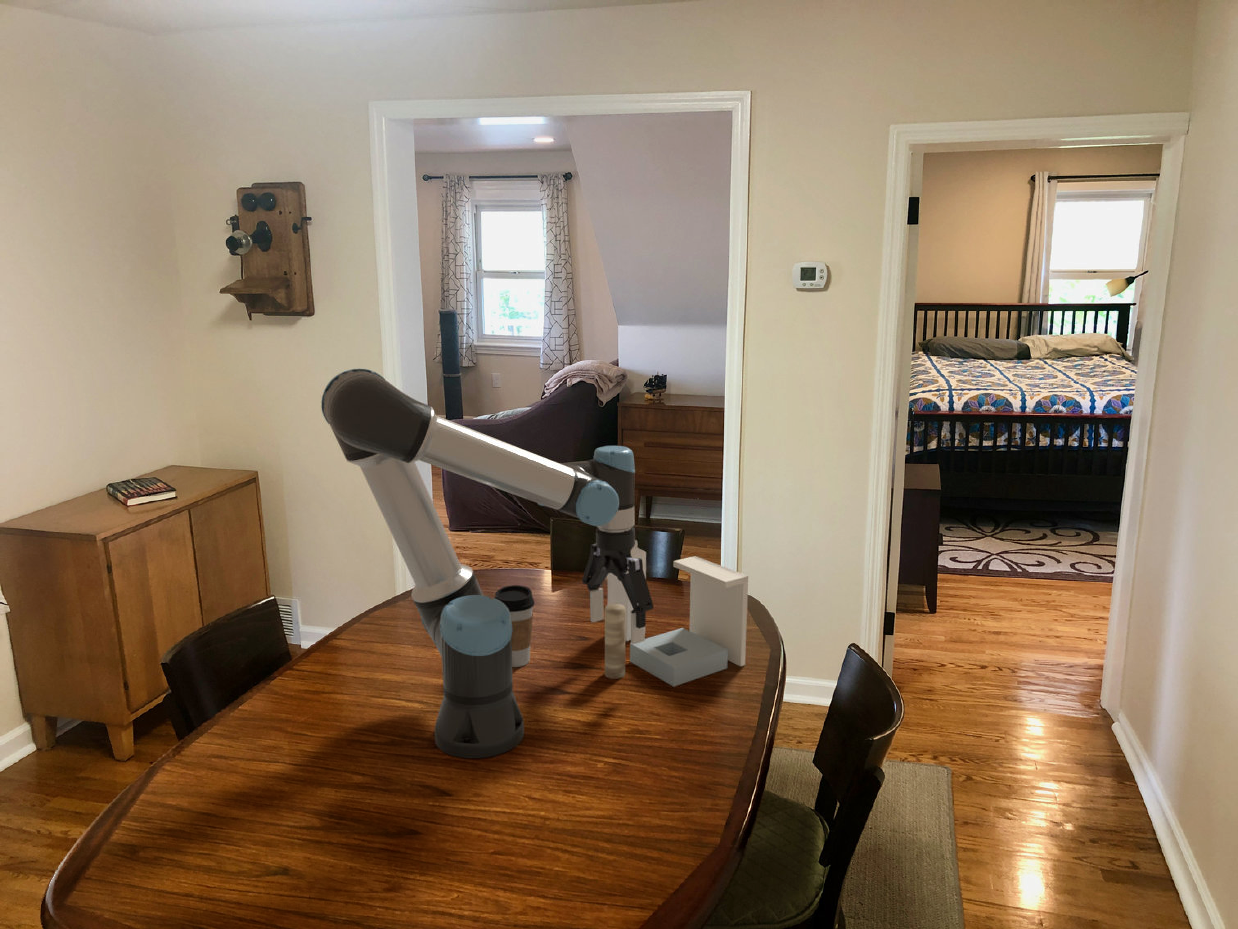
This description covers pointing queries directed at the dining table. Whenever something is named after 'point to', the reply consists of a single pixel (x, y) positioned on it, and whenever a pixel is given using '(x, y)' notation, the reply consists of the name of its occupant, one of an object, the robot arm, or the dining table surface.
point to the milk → (619, 594)
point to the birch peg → (615, 641)
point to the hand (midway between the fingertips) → (616, 631)
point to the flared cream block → (718, 605)
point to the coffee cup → (519, 620)
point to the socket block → (678, 656)
